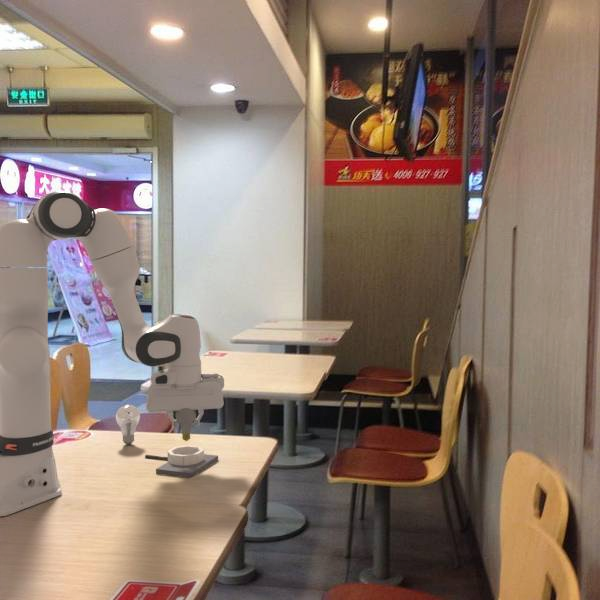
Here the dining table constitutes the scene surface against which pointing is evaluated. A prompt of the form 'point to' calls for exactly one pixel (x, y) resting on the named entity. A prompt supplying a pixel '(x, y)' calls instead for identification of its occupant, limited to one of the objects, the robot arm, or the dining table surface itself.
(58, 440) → the dining table surface
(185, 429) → the light bulb
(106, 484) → the dining table surface
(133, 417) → the light bulb
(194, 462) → the lamp base
